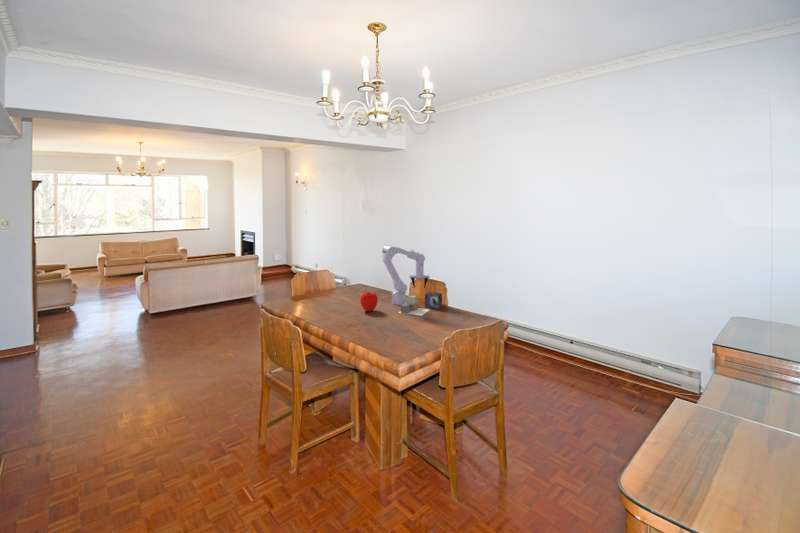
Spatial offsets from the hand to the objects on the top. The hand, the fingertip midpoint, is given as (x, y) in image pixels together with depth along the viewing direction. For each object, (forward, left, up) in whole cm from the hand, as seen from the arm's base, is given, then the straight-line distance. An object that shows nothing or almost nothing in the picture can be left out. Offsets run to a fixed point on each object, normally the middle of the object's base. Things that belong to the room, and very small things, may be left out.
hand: (419, 287), depth 294 cm
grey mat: (+6, -27, -10) cm, 29 cm away
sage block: (+3, -23, -6) cm, 24 cm away
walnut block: (+3, -23, -10) cm, 25 cm away
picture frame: (+15, -12, -11) cm, 22 cm away
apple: (-22, -38, -11) cm, 45 cm away
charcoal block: (+2, -31, -10) cm, 33 cm away
